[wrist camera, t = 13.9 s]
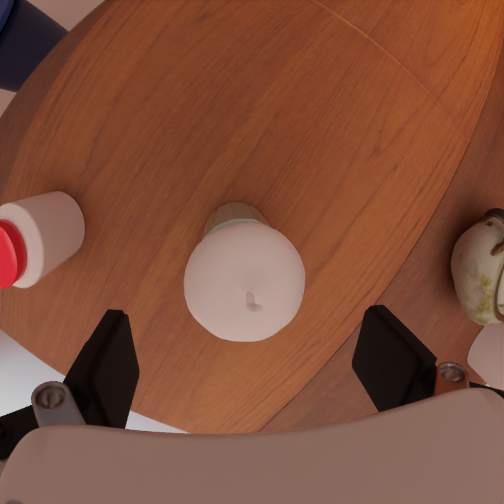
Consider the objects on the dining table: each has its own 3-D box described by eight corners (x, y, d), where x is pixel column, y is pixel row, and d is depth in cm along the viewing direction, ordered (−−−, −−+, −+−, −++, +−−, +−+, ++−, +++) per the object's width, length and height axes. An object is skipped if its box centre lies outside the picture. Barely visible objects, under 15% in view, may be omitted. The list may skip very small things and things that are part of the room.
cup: (204, 264, 29) (197, 306, 20) (203, 201, 27) (194, 218, 18) (266, 265, 30) (284, 305, 21) (270, 202, 28) (291, 220, 19)
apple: (308, 240, 20) (355, 285, 13) (259, 320, 22) (277, 393, 14) (219, 193, 19) (217, 213, 11) (175, 282, 20) (152, 347, 13)
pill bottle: (63, 176, 25) (-3, 188, 14) (97, 237, 27) (42, 275, 16) (23, 215, 25) (-39, 240, 14) (54, 270, 27) (0, 314, 17)
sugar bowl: (414, 230, 30) (507, 274, 16) (478, 169, 29) (563, 185, 14) (448, 329, 36) (506, 382, 22) (501, 272, 34) (561, 306, 20)
